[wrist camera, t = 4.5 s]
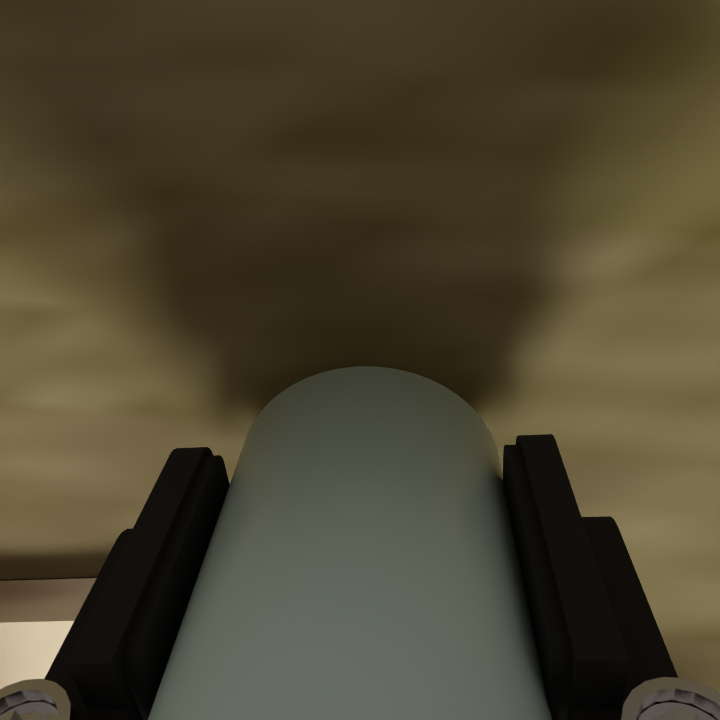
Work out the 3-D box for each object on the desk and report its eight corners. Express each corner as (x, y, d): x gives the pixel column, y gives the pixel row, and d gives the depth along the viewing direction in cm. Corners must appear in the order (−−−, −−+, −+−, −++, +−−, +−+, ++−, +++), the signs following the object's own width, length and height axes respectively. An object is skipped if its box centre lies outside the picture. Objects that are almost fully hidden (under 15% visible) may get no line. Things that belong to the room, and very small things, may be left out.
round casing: (502, 359, 10) (710, 1135, 3) (498, 566, 12) (617, 1284, 6) (219, 372, 11) (-122, 1086, 4) (264, 571, 13) (104, 1242, 6)
